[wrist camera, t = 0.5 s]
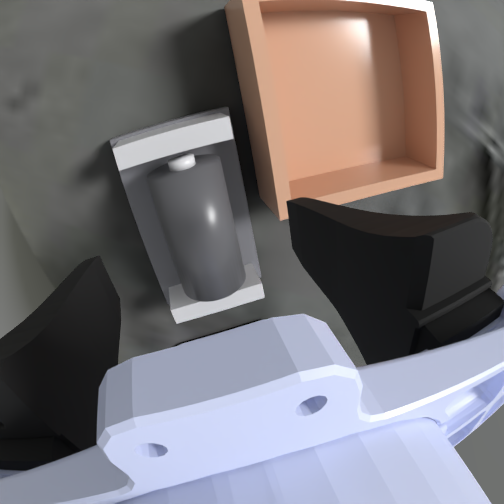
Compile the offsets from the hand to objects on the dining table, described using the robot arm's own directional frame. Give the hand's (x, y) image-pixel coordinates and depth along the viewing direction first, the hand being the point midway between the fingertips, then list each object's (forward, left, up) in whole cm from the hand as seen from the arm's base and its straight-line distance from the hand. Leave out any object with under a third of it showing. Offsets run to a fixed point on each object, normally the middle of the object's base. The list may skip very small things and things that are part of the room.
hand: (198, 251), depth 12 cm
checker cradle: (-2, 0, -9) cm, 10 cm away
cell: (-2, 0, -6) cm, 7 cm away
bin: (+4, -11, -9) cm, 15 cm away
